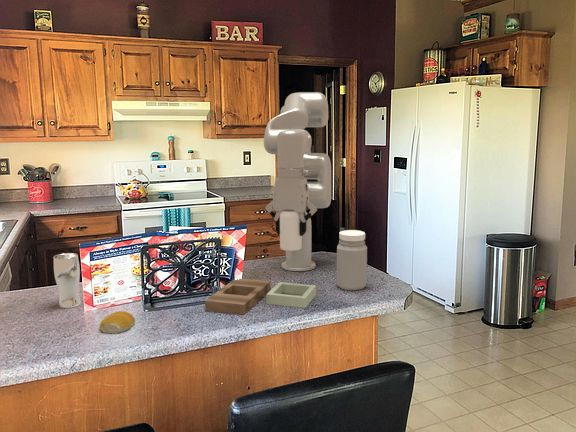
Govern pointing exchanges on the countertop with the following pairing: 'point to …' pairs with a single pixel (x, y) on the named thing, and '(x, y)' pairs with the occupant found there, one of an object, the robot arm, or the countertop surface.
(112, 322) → the bread roll
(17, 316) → the countertop surface
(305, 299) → the sage holder
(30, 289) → the countertop surface
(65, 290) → the beer glass
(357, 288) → the jar
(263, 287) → the walnut holder
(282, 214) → the can
